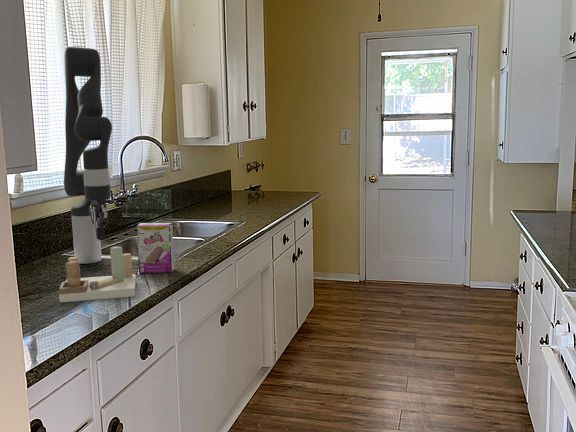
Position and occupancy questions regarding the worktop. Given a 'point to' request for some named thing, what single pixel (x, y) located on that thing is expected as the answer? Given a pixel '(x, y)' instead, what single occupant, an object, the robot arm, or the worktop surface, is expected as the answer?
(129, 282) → the stool seat
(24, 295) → the worktop surface
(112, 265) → the hinged leg
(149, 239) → the candy bar box
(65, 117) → the robot arm
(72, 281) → the loose leg
